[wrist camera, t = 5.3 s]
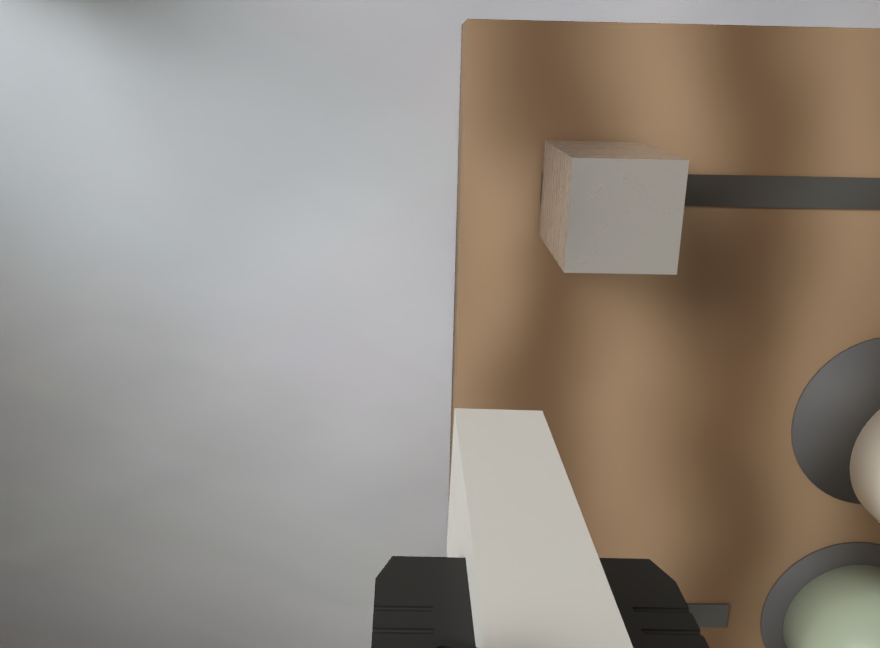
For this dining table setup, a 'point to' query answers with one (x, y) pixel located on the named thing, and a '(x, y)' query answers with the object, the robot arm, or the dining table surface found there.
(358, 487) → the dining table surface
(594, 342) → the console
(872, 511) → the button ivory
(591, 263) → the slider aluminium
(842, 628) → the button sage
